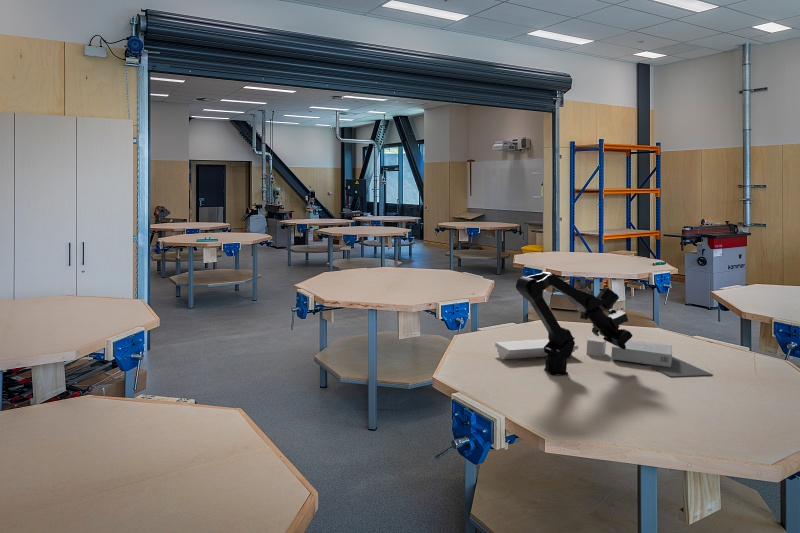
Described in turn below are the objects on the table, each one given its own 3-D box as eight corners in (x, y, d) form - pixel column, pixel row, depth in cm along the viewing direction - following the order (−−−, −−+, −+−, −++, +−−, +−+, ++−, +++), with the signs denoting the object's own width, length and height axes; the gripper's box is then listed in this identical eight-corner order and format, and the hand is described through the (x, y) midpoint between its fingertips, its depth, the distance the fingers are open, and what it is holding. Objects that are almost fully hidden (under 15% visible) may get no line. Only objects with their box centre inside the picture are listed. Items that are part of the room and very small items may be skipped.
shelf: (494, 355, 223) (495, 342, 222) (560, 350, 232) (561, 338, 231) (508, 363, 212) (509, 350, 211) (577, 358, 221) (578, 345, 220)
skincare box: (670, 369, 209) (671, 357, 223) (672, 354, 208) (672, 343, 222) (610, 360, 218) (614, 349, 232) (611, 346, 217) (615, 336, 231)
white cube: (586, 354, 226) (587, 339, 226) (589, 351, 231) (590, 336, 231) (602, 357, 223) (603, 342, 222) (605, 353, 228) (606, 339, 228)
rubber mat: (668, 355, 227) (668, 354, 227) (713, 375, 203) (713, 374, 202) (629, 356, 224) (629, 355, 224) (670, 377, 200) (670, 376, 199)
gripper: (629, 309, 197) (655, 339, 200) (601, 299, 215) (625, 327, 218) (607, 331, 196) (633, 361, 200) (581, 319, 215) (605, 347, 218)
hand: (624, 348), depth 209 cm, fingers closed
